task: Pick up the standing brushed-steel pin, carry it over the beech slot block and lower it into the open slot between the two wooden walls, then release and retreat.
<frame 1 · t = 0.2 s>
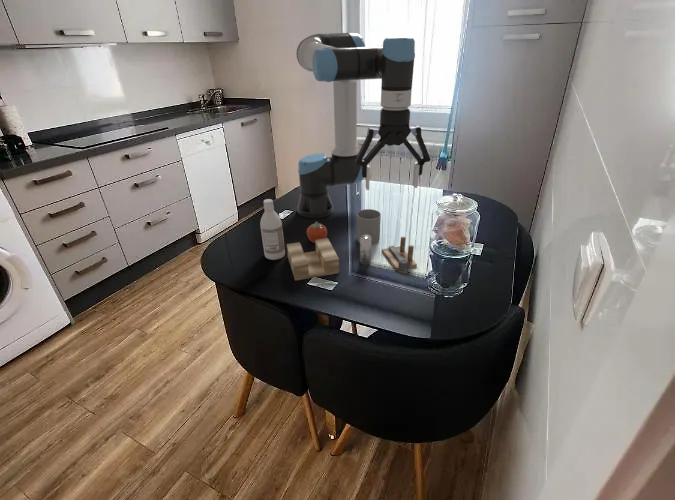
hand: (391, 187, 102), 27 cm above the table, fingers open, 13 cm apart
slot block: (312, 264, 117), on the table
peg rack: (398, 259, 119), on the table
tomato: (317, 241, 131), on the table
bath foam: (275, 255, 123), on the table
cup: (368, 239, 132), on the table
pin: (365, 261, 119), on the table
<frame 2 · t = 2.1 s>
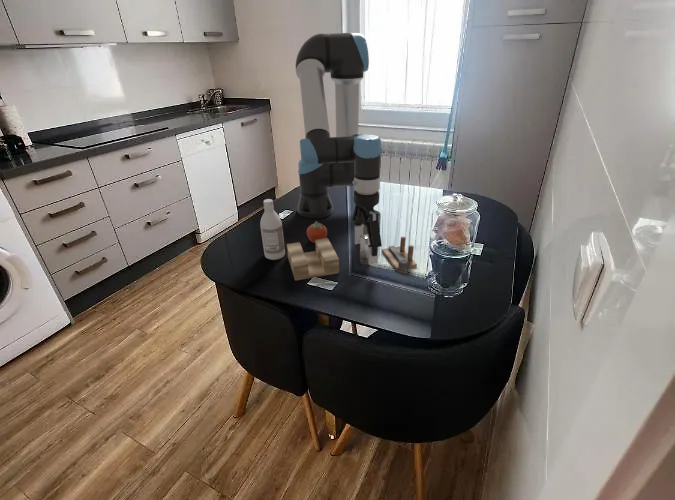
hand: (365, 252, 117), 3 cm above the table, fingers open, 13 cm apart
nothing on the table moved.
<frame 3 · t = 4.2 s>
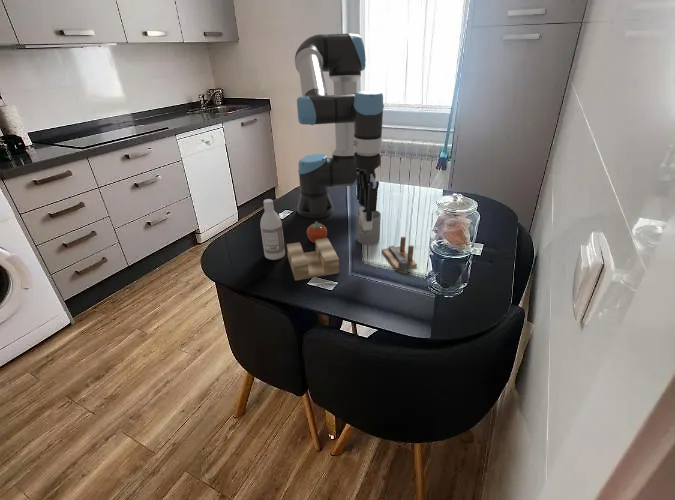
hand: (365, 226, 113), 13 cm above the table, fingers closed on pin, 3 cm apart
pin: (365, 232, 114), point 10 cm above the table, touching gripper
everything else where it was.
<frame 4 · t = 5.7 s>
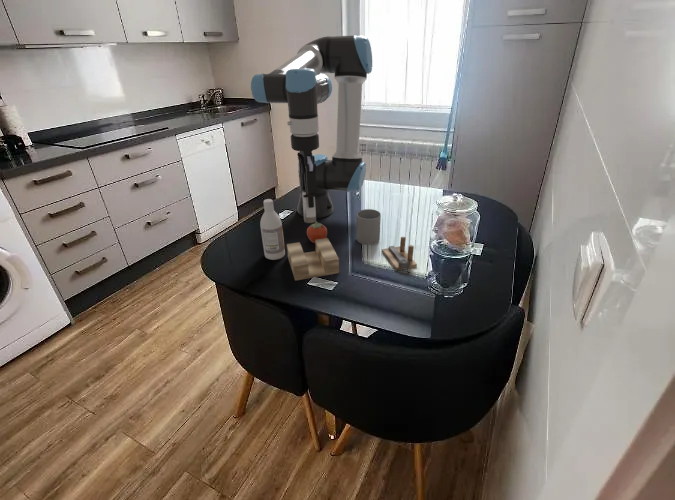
hand: (309, 213, 108), 18 cm above the table, fingers closed on pin, 3 cm apart
pin: (310, 220, 109), point 16 cm above the table, touching gripper
everything else where it was.
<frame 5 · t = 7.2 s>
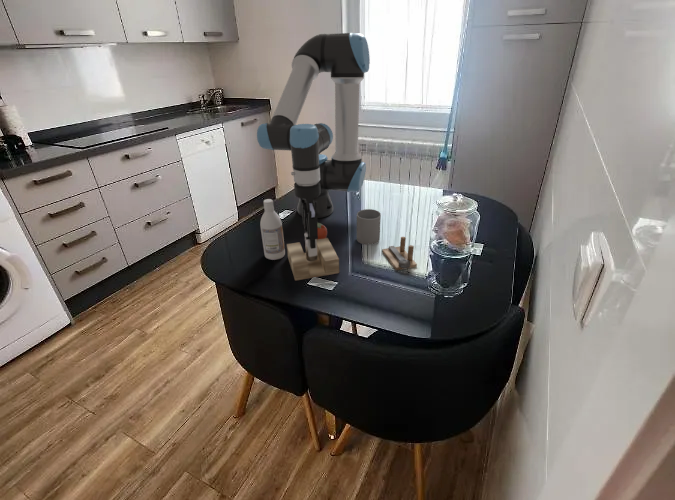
hand: (311, 252, 115), 5 cm above the table, fingers closed on pin, 3 cm apart
pin: (311, 258, 116), point 3 cm above the table, touching gripper
everything else where it was.
when the fingers open (3 cm above the table, at t = 7.7 s): pin stays where it is, resting on slot block.
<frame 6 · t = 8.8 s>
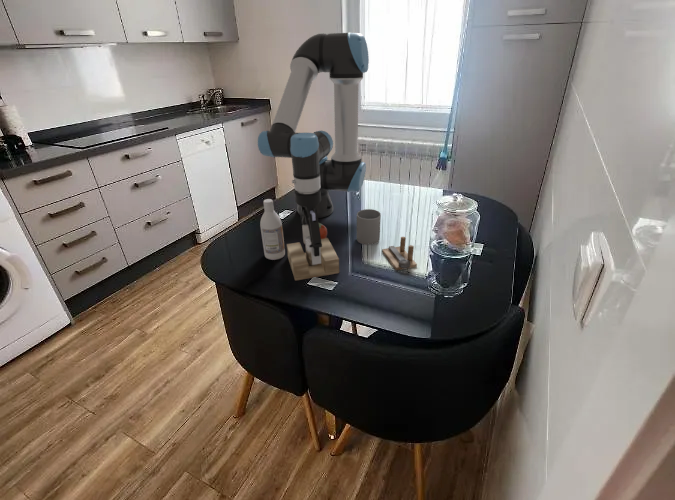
hand: (312, 252, 115), 5 cm above the table, fingers open, 13 cm apart
pin: (312, 263, 117), point 1 cm above the table, touching slot block
everything else where it was.
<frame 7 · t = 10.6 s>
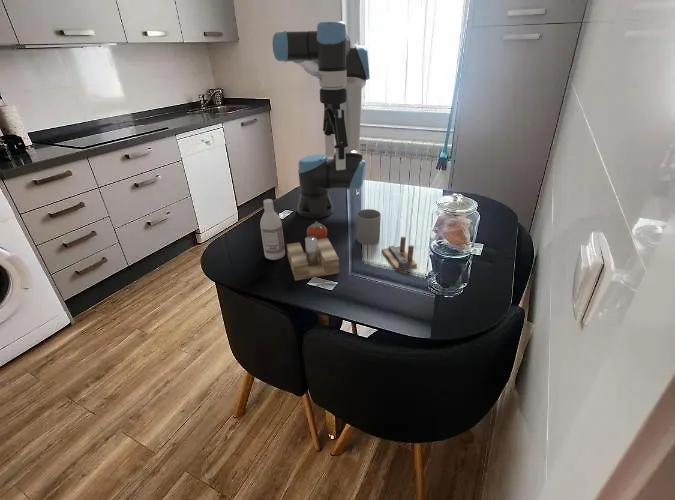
hand: (335, 162, 111), 30 cm above the table, fingers open, 13 cm apart
nothing on the table moved.
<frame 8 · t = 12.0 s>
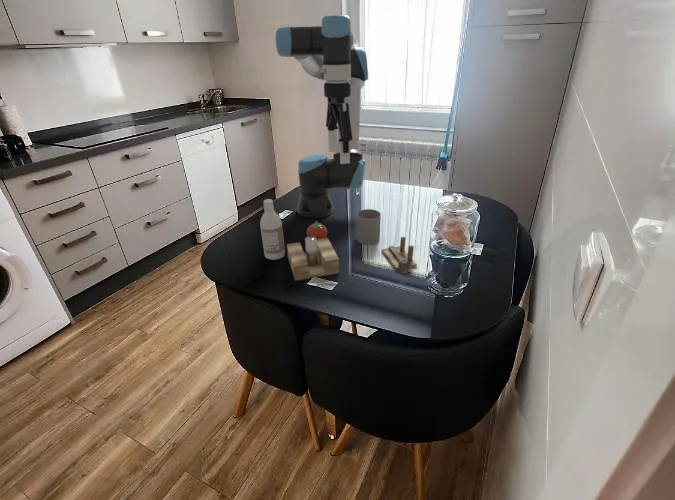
hand: (338, 157, 111), 32 cm above the table, fingers open, 13 cm apart
nothing on the table moved.
at the end: pin inside the target area on the slot block (0.1 cm from its centre), point 0.8 cm above the slot block's base; pin tilted 0°; the gripper is holding nothing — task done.
